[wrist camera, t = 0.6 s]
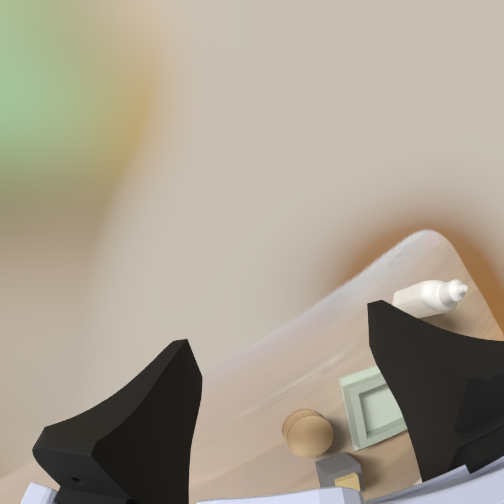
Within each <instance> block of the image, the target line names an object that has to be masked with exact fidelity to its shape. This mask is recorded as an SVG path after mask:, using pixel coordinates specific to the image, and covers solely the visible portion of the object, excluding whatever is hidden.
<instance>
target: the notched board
mask: <svg viewBox="0 0 504 504" xmlns="http://www.w3.org/2000/svg"><path fill="white" fill-rule="evenodd" d="M338 379H339V383H340V388H341V392H342V397H343V401H344V406H345V411H346V416H347V421H348V426H349V431H350V436H351V441H352V446H353V450H355V451H357V450H359V449H363V448H365V447H368V446H370V445H373V444H375V443H377V442H380V441H382V440H384V439H387V438H389V437H391V436H394V435H396V434H398V433H400V432H402V431H404V430H407V426H406V424H405V421H404V418H403V415H402V413H401V410H400V408H399V406H398V404H397V402H396V400H395V398H394V396H393V394H392V392H391V391H390V389H389V387H388V385H387V383H386V381H385V379H384V378H383V376H382V374H381V372H380V370H379V368H378V366H377V365H375V366H372V367H369V368H366V369H363V370H361V371H358V372H355V373H352V374H349V375H346V376H343V377H340V378H338Z"/></svg>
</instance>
